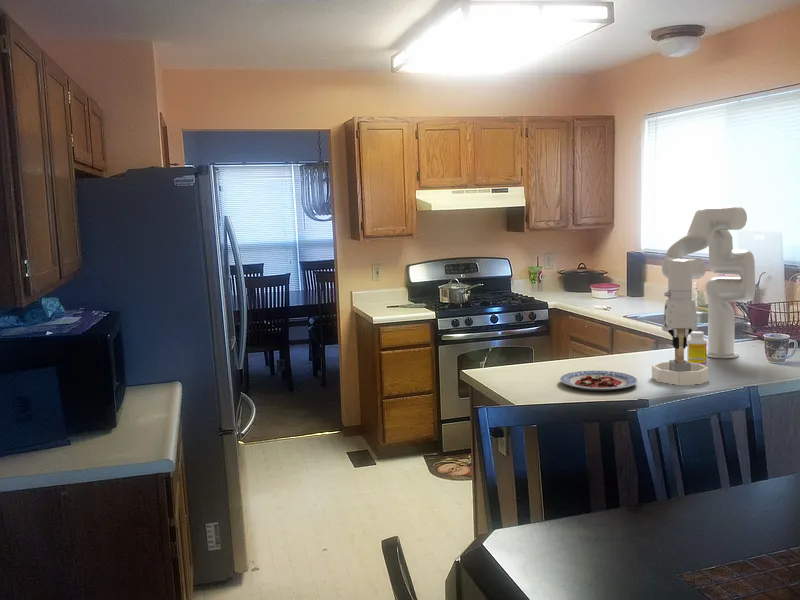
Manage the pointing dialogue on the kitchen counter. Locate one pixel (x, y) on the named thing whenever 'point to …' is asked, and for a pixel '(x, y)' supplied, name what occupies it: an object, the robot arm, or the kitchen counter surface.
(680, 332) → the wooden block
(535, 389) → the kitchen counter surface
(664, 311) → the robot arm
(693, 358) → the supplement bottle
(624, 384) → the ceramic plate
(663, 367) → the shallow round tray
